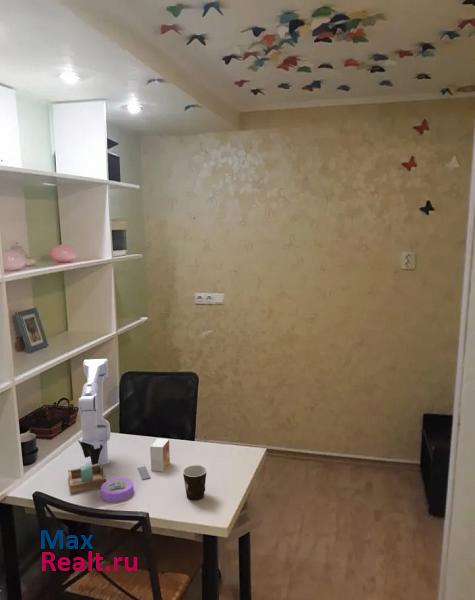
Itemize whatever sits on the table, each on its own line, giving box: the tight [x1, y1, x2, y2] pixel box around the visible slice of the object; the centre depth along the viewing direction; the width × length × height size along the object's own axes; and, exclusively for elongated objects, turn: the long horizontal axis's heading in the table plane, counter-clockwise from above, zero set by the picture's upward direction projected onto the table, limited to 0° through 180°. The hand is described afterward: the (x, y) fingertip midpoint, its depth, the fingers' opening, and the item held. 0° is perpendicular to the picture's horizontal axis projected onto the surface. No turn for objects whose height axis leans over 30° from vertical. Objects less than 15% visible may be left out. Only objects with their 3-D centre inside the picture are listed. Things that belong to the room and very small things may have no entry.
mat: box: [136, 466, 151, 481], centre depth 192 cm, size 10×10×1 cm
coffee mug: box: [182, 464, 207, 502], centre depth 174 cm, size 12×9×10 cm
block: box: [80, 463, 93, 482], centre depth 186 cm, size 4×4×6 cm
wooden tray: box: [67, 464, 107, 495], centre depth 187 cm, size 13×13×4 cm
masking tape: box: [100, 477, 134, 503], centre depth 178 cm, size 12×12×4 cm
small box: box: [149, 438, 171, 472], centre depth 199 cm, size 8×6×10 cm
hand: (91, 460), depth 184 cm, fingers open, 7 cm apart
